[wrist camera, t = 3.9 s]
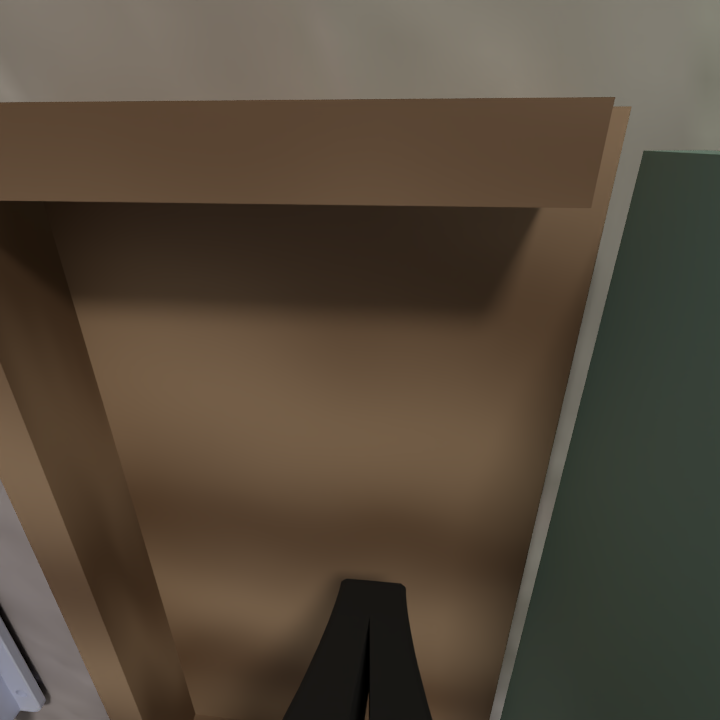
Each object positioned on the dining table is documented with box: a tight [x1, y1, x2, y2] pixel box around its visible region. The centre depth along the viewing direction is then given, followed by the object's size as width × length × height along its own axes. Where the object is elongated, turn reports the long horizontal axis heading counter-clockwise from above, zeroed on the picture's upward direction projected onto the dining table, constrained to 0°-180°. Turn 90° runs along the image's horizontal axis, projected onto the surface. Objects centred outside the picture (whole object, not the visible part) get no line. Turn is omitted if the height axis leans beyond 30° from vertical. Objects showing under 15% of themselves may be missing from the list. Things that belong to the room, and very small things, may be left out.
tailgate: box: [500, 151, 720, 720], centre depth 9 cm, size 19×2×6 cm, turn 0°
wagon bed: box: [0, 97, 631, 720], centre depth 12 cm, size 20×11×4 cm, turn 0°
